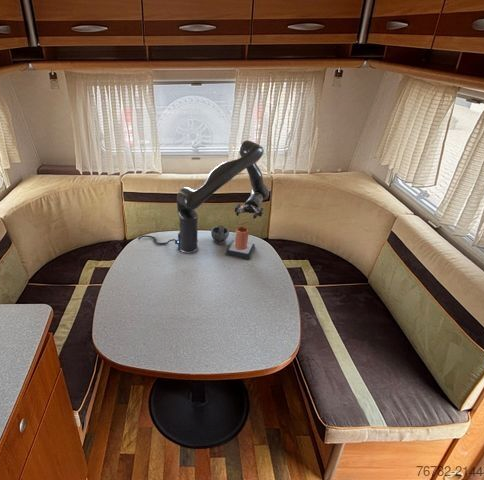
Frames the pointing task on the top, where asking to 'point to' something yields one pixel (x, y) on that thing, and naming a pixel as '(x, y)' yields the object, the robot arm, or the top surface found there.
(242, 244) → the cup
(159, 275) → the top surface
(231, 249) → the scale
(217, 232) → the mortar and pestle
